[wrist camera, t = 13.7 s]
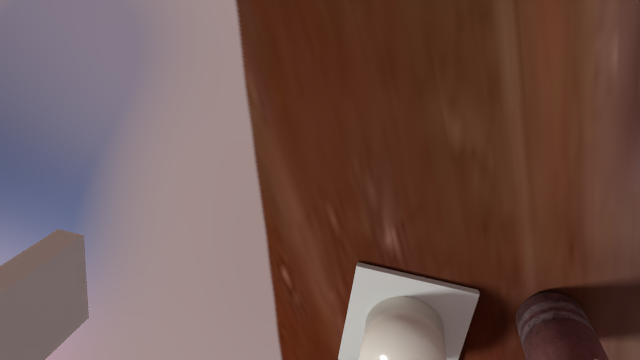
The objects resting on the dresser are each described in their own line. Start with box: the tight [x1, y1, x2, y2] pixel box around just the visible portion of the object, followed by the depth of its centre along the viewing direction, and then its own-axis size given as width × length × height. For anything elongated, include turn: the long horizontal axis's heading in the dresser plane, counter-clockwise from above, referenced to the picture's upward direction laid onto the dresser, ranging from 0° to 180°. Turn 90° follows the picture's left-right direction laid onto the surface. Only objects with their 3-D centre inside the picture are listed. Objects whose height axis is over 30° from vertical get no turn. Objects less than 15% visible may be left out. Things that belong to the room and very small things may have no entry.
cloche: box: [359, 296, 447, 360], centre depth 45 cm, size 8×8×8 cm
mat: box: [338, 262, 480, 360], centre depth 49 cm, size 12×12×1 cm
